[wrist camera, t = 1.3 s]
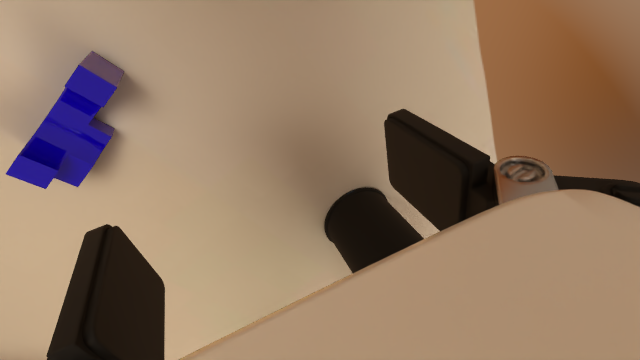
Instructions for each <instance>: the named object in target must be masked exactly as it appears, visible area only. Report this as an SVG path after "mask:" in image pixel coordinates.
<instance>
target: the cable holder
mask: <svg viewBox="0 0 640 360" xmlns="http://www.w3.org/2000/svg"><path fill="white" fill-rule="evenodd" d="M123 73H124V71H123V70H121V69H120V68H118V67H116V66H115V65H113V64H112V63H110V62H109V61H107V60H105V59H104V58H102V57H101V56H99V55H98V54H96V53H95V52H93V51H92V52H91V53H90V54H89V55H88V56H87V57H86V58H85V59H84V60H83V61H82V62H81V63H80V64H79V65H78V67H77V68H76V70H75V71H74V73H73V74H72V76H71V77H70V79H69V80H68V82H67V83H66V85H65V89H64V91H63V93H62V94H61V96H60V97H59V99H58V100H57V102H56V103H55V105H54V106H53V108H52V109H51V111H50V112H49V114H48V115H47V117H46V118H45V120H44V121H43V122H42V124H41V125H40V127H39V128H38V129H37V131H36V132H35V134H34V135H33V136H32V138H31V139H30V140H29V142H28V143H27V144H26V146H25V147H24V148H23V150H22V151H21V152H20V154H19V155H18V156H17V158H16V159H15V161H14V162H13V164H12V165H11V167H10V168H9V170H8V171H7V173H6V174H7V175H9V176H12V177H15V178H17V179H20V180H23V181H26V182H28V183H31V184H34V185H36V186H39V187H42V188H44V189H46V188H47V187H48V185H49V184H50V182H51V181H52V179H53V178H56V179H58V180H61V181H64V182H66V183H69V184H71V185H74V186H76V187H78V186H79V185H80V183H81V182H82V181H83V179H84V178H85V177H86V175H87V174H88V172H89V171H90V170H91V168H92V167H93V166H94V164H95V162H96V160H97V159H98V157H99V155H100V154H101V152H102V151H103V149H104V148H105V146H106V145H107V143H108V142H109V140H110V139H111V137H112V135H113V132H114V128H112V127H110V126H108V125H107V124H105V123H103V122H101V121H99V120H97V119H95V118H93V117H94V116H95V115H96V113H97V112H98V111H99V109H100V108H101V107H104V106H105V104H106V103H107V101H108V100H109V99H110V97H111V96H112V94H113V93H114V91H115V90H116V89H117V87H118V85H119V82H120V80H121V78H122V75H123Z"/></svg>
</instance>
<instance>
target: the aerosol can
mask: <svg viewBox="0 0 640 360" xmlns="http://www.w3.org/2000/svg"><path fill="white" fill-rule="evenodd" d="M325 233H326V235H327V237H328V239H329V240H330V241H331V242H333V243H334V244H335V246H336V247H337V249H338V250H339V252H340V254H341V255H342V257H343V258H344V260H345V262H346V263H347V265H348V266H349V268H350V270H351V271H352V273H355V272H357V271H359V270H361V269H363V268H365V267H367V266H369V265H372V264H374V263H376V262H378V261H380V260H382V259H384V258H386V257H388V256H390V255H392V254H394V253H396V252H399V251H401V250H403V249H405V248H407V247H409V246H411V245H413V244H415V243H417V242H419V241H421V240H423V239H424V238H423V237H422V236H421V235H420V234H419V233H418V232H417V231H416V230H415V229H414V228H413V227H412V226H411V225H410V224H409V223H408V222H407V221H406V220H405V219H404V218H403V217H402V216H401V215H400V214H399V213H398V212H397V211H396V210H395V209H394V208H393V207H392V206H391V205H390V204H389V203H388V201H387V199H386V197H385V195H384V194H383V193H382V192H380V191H379V190H377V189H374V188H359V189H356V190H353V191H351V192H349V193H347V194H345V195H344V196H342V197H341V198H340V199H339V200H338V201H336V202H335V204H334V205H333V206H332V207H331V209H330V210H329V212H328V214H327V217H326V219H325Z"/></svg>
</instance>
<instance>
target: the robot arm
mask: <svg viewBox="0 0 640 360" xmlns="http://www.w3.org/2000/svg"><path fill="white" fill-rule="evenodd" d="M384 127H385V138H386V149H387V160H388V171H389V180H390V183H391V185H392V186H393V188H394V189H395V190H397V191H398V192H399V193H400V194H401V195H402V196H403V197H404V198H405V199H406V200H407V201H408V202H409V203H411V204H412V205H413V206H414V207H415V208H416V209H417V210H418V211H419V212H420V213H421V214H422V215H423V216H424V217H426V218H427V219H428V220H429V221H430V222H431V223H432V224H433V225H434V226H435V227H436V228H437V229H438V230H440V232H438V233H436V234H434V235H432V236H430V237H428V238H426V239H423V240H421V241H419V242H417V243H415V244H413V245H411V246H409V247H407V248H405V249H403V250H401V251H399V252H396V253H394V254H392V255H390V256H388V257H386V258H384V259H382V260H380V261H378V262H376V263H374V264H372V265H369V266H367V267H365V268H363V269H361V270H359V271H357V272H355V273H353V274H351V275H349V276H347V277H345V278H343V279H341V280H339V281H337V282H335V283H333V284H330V285H328V286H326V287H324V288H322V289H320V290H318V291H316V292H314V293H312V294H310V295H308V296H306V297H304V298H302V299H300V300H298V301H296V302H294V303H292V304H290V305H288V306H286V307H284V308H281V309H279V310H277V311H275V312H273V313H271V314H269V315H267V316H265V317H263V318H261V319H259V320H257V321H255V322H253V323H251V324H249V325H247V326H245V327H243V328H241V329H239V330H237V331H235V332H233V333H231V334H229V335H227V336H225V337H223V338H221V339H219V340H217V341H215V342H213V343H211V344H209V345H207V346H205V347H203V348H201V349H199V350H197V351H195V352H193V353H191V354H189V355H187V356H185V357H183V358H181V359H179V360H640V183H637V182H633V181H625V180H615V179H599V178H584V177H568V176H553V173H552V170H551V169H550V167H549V166H548V165H546V164H545V163H544V162H542V161H540V160H537V159H535V158H531V157H526V156H510V157H506V158H503V159H501V160H499V161H497V163H496V164H493V163H492V162H490V156H488V155H487V154H485V153H483V152H481V151H479V150H478V149H476V148H474V147H472V146H470V145H469V144H467V143H465V142H463V141H461V140H460V139H458V138H456V137H454V136H452V135H451V134H449V133H447V132H445V131H443V130H442V129H440V128H438V127H436V126H434V125H433V124H431V123H429V122H427V121H425V120H424V119H422V118H420V117H418V116H416V115H415V114H413V113H411V112H409V111H407V110H406V109H401V110H399V111H396V112H394V113H391V114H389V115H388V117H387V120H385V122H384ZM164 323H165V287H164V283H163V281H162V279H161V278H160V276H159V275H158V274H157V273H156V272H155V270H154V269H153V268H152V267H151V265H150V264H149V263H148V262H147V260H146V259H145V258H144V257H143V256H142V254H141V253H140V252H139V251H138V249H137V248H136V247H135V246H134V245H133V243H132V242H131V241H130V240H129V238H128V237H127V236H126V235H125V233H124V232H123V231H122V230H121V229H120V228H119V227H118V226H114V227H112V226H110V225H108V224H106V225H104V226H101V227H99V228H96V229H93V230H91V231H88V232H86V234H85V236H84V239H83V243H82V246H81V249H80V252H79V255H78V258H77V262H76V265H75V268H74V271H73V274H72V277H71V281H70V284H69V287H68V290H67V293H66V296H65V300H64V303H63V306H62V309H61V312H60V315H59V319H58V322H57V325H56V328H55V331H54V334H53V338H52V341H51V344H50V347H49V350H48V353H47V357H48V358H47V360H164Z"/></svg>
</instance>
